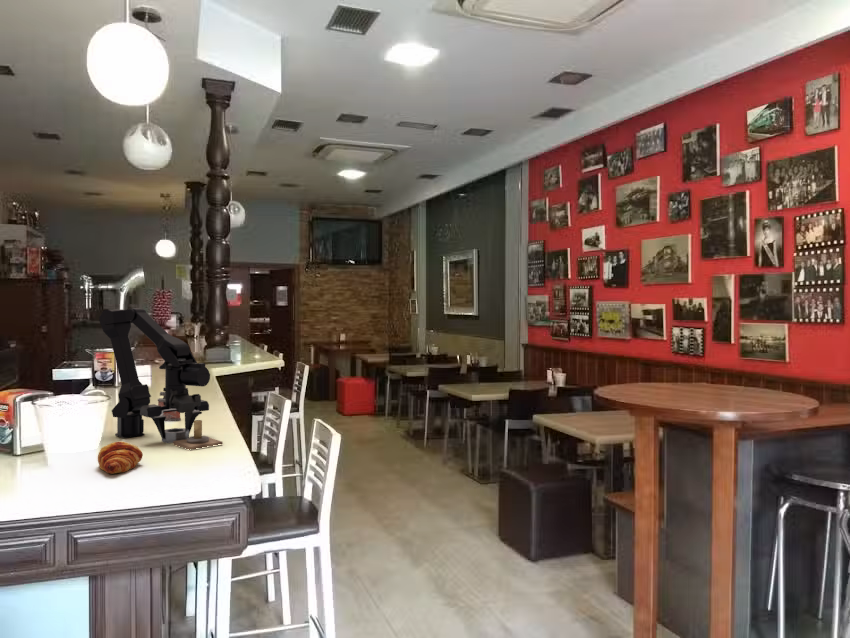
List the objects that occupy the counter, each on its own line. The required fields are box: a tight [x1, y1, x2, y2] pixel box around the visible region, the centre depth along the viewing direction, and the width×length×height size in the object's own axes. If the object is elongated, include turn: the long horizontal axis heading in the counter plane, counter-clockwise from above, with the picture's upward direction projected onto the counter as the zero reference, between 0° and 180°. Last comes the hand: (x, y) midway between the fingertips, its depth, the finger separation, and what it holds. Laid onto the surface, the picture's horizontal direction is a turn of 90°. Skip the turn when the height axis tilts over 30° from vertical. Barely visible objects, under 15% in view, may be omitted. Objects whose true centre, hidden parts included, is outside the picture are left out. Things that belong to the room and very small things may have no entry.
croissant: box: [97, 441, 144, 475], centre depth 160 cm, size 21×10×8 cm, turn 19°
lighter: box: [157, 391, 182, 422], centre depth 223 cm, size 8×3×10 cm, turn 84°
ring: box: [161, 427, 190, 444], centre depth 190 cm, size 7×7×3 cm
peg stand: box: [172, 419, 224, 451], centre depth 185 cm, size 10×10×7 cm
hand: (175, 437), depth 190 cm, fingers closed on ring, 7 cm apart
